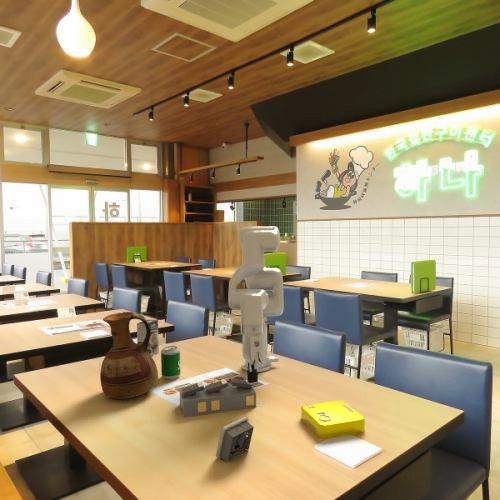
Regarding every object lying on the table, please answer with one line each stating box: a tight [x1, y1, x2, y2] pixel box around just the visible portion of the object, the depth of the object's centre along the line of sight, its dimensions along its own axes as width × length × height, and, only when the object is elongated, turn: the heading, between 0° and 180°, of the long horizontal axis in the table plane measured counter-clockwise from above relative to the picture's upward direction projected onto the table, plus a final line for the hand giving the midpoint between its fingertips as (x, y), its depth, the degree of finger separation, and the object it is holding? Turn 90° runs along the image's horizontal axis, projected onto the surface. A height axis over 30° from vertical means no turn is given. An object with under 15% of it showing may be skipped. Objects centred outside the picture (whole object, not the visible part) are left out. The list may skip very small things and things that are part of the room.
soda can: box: [160, 345, 181, 381], centre depth 170 cm, size 8×8×12 cm
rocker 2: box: [204, 378, 229, 393], centre depth 142 cm, size 7×4×1 cm, turn 106°
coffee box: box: [136, 319, 160, 357], centre depth 202 cm, size 9×6×16 cm
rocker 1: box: [181, 381, 205, 396], centre depth 140 cm, size 7×4×1 cm, turn 106°
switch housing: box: [179, 383, 257, 418], centre depth 142 cm, size 24×10×6 cm, turn 107°
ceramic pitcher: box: [99, 311, 159, 400], centre depth 154 cm, size 20×20×30 cm
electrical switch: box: [215, 416, 255, 464], centre depth 111 cm, size 9×5×9 cm, turn 136°
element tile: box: [300, 399, 366, 440], centre depth 128 cm, size 15×15×5 cm
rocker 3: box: [229, 378, 253, 388], centre depth 145 cm, size 7×4×1 cm, turn 107°
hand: (252, 381), depth 145 cm, fingers closed
